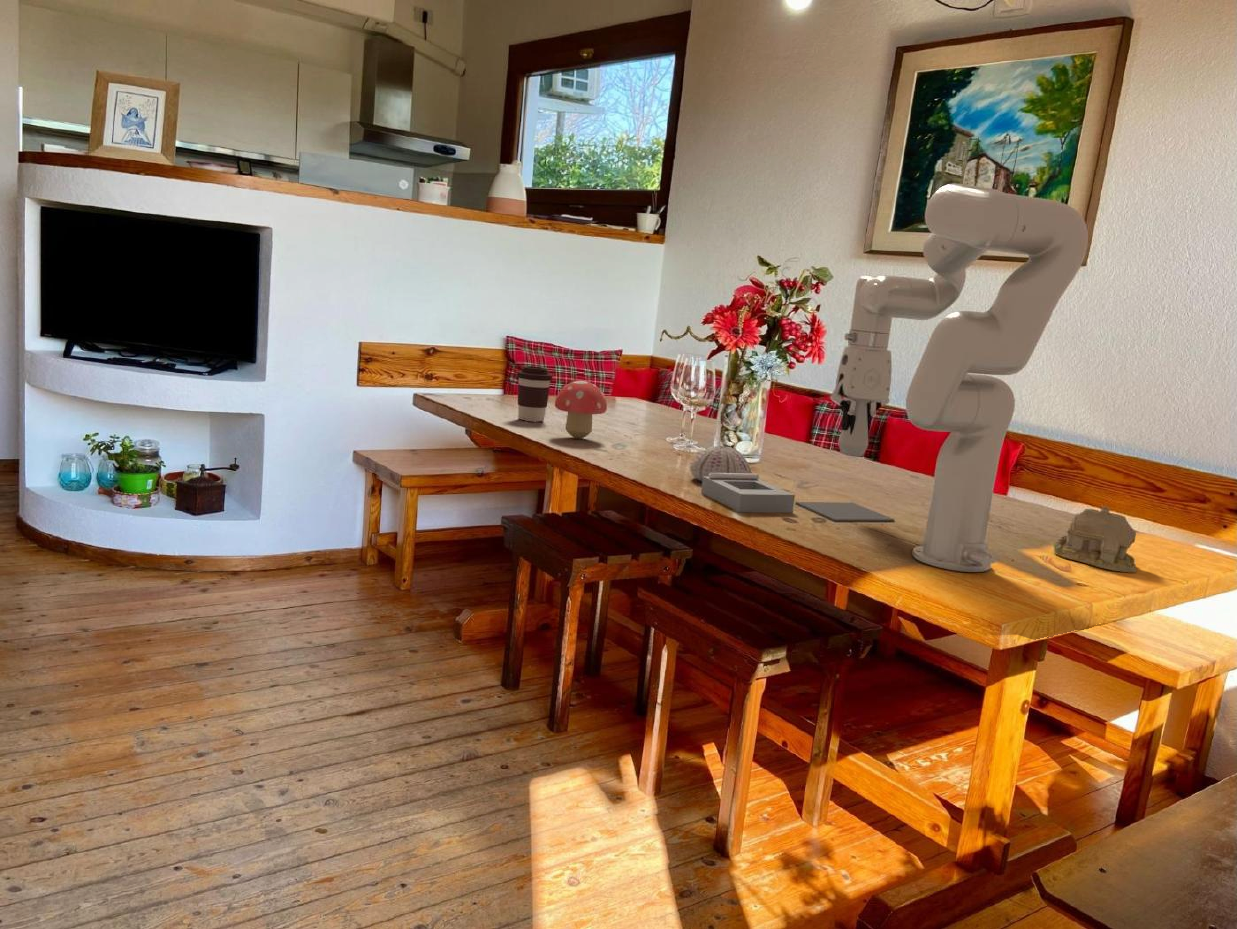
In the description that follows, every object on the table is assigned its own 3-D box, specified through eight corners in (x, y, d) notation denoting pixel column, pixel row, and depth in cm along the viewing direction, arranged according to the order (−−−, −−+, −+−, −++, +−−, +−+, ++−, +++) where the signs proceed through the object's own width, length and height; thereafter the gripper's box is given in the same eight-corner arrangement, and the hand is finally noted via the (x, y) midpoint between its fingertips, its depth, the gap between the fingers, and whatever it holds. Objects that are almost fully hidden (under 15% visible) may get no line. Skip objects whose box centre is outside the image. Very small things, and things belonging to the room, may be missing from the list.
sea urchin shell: (736, 477, 228) (740, 442, 226) (759, 490, 215) (763, 454, 213) (680, 474, 224) (684, 439, 223) (700, 488, 211) (705, 450, 210)
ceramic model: (1142, 565, 181) (1153, 512, 179) (1132, 577, 172) (1143, 520, 170) (1060, 548, 189) (1069, 496, 187) (1046, 557, 180) (1055, 503, 178)
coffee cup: (555, 422, 284) (560, 369, 282) (534, 424, 276) (539, 370, 273) (527, 416, 289) (531, 364, 287) (506, 418, 281) (510, 365, 278)
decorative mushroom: (541, 434, 259) (546, 377, 257) (580, 433, 268) (586, 377, 266) (574, 444, 250) (579, 384, 247) (614, 442, 259) (620, 384, 256)
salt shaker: (866, 458, 195) (876, 392, 193) (836, 454, 196) (846, 388, 194) (865, 454, 201) (875, 389, 198) (836, 450, 202) (845, 386, 199)
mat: (894, 521, 197) (894, 519, 197) (834, 521, 191) (834, 519, 191) (852, 504, 209) (852, 502, 209) (795, 504, 204) (795, 502, 204)
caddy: (792, 512, 196) (795, 488, 195) (738, 512, 191) (741, 488, 190) (752, 493, 210) (754, 471, 209) (701, 492, 206) (703, 470, 205)
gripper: (844, 340, 188) (830, 436, 191) (914, 346, 194) (900, 439, 197) (821, 336, 195) (809, 429, 198) (890, 342, 201) (877, 432, 204)
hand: (855, 433), depth 198 cm, fingers closed on salt shaker, 3 cm apart
